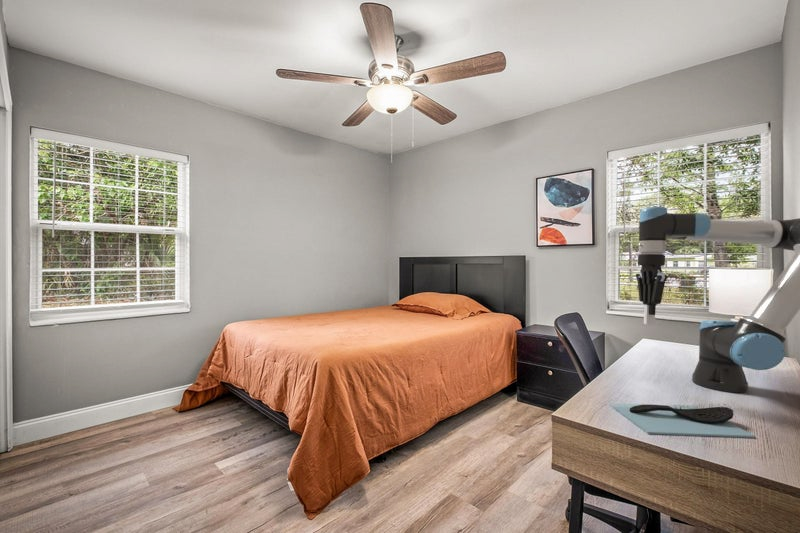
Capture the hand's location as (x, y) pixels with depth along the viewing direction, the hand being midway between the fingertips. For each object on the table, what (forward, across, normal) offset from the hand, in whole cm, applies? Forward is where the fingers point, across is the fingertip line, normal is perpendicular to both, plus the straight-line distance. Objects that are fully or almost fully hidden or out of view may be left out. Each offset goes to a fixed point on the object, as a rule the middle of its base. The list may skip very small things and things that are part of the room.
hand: (649, 324), depth 125 cm
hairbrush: (+22, +22, -5) cm, 32 cm away
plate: (+23, +23, -7) cm, 33 cm away
